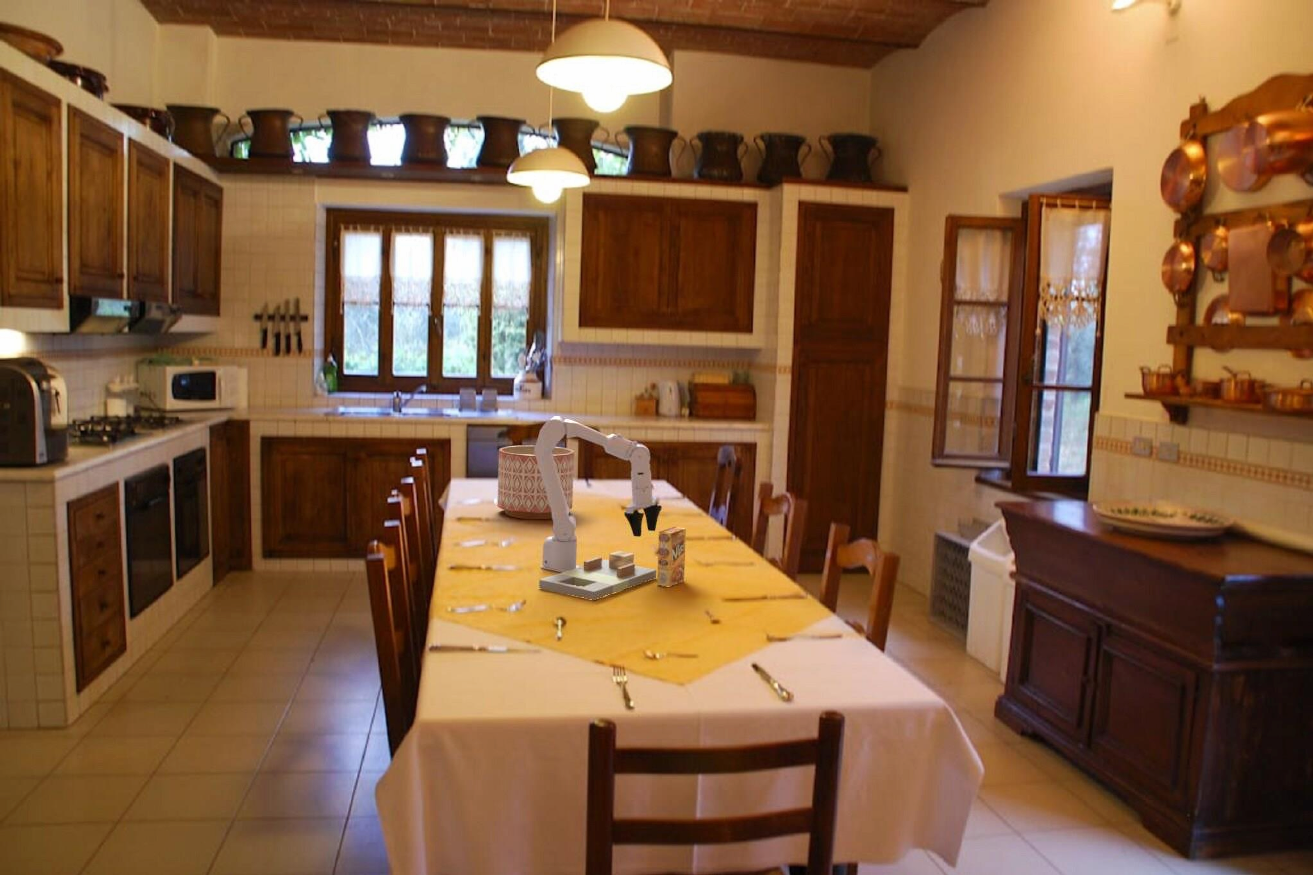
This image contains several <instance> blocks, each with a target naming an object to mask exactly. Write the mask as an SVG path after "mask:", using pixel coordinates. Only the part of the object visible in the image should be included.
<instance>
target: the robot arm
mask: <svg viewBox="0 0 1313 875" xmlns="http://www.w3.org/2000/svg"><path fill="white" fill-rule="evenodd" d="M565 435H566V439H570V438H577V437H578V438H580V439H583V440H586V441H589V442H592V443H594V444H597V445H600V446H601V447H603V448H604V451H605V453H607V454H609V455H612V456H614V457H616V458H618V459H621V460H624V461H630V463H631V464H630V465H631V466H630V467H631V471H630V478H631V494H632V496H631V498H632V502H631V503H629V505H626V506H625V512H624V517H625V518H626V520H627V521H628V523H629V525H630V528H631V532H632V535H633V537H639V538H640V537H642V525H643V524H642V523H643V520H644V519H643V518H644V516H645V519H646V527H647V531H648V532H649V531H650V532H655V531H656V529H657V524H658V518H659V515H660V513H661V510H662V505H660V498H659V497H658V496H657V497H655V496H654V497H653V487H652V485H653V484H652V472H651V464H650V461H651V454H650V450H649V448H648V447H647V446H646V445H644V444H643V443H638V441H637V440H633V441H632V440H630V439H627V438H625V437H623V435H622V434H621V433H617V434H616V433H612V434H609V435H606V434H604V433H601V432H600V431H598V430H595V429H593V428H591V427H589V426H586V425H584V424H582V423H580V422H577V421H574V420H572V419H569V418H564V417H562V416H559V415H555V416H552V417H550V418H549V419H548V420H547V421H546V422H545V423H544V424H543V425H542V427H541V429H540V430H539V434H538V437H537V440H536V443H535V445H534V446H535V449H534V452H535V456H536V459H537V462H538V466H539V469H540V473H541V476H542V480H543V483H544V486H545V490H546V493H547V497H548V500H549V503H550V507H551V511H552V519H551V520H552V522H553V526H552V534H553V535H552V536H548V537H547V538H546V539H545V540H544V542H543V544H542V565H540V569H544V570H549V571H552V572H558V573H563V572H566V571H569V570H572V569H576V568H579V567H582V566H580V565H577V550H578V548H577V546H578V536H576V535H575V532H576V531H575V530H576V529H577V528H578V527H577V526H578V522H577V521H578V520H577V519H576V517H575V516H574V515H573V514H572V511H571V509H569V507H568V505H567V502H566V499H565V495H564V492H563V488H562V485H561V482H560V478H559V475H558V471H557V468H556V464H555V461H554V458H553V454H552V450H553V449H554V447H556V446H557V444H558V443H559V442H560V441H561V440H562V439H563V438H564V436H565ZM640 510H641V511H642V510H643V512H640Z"/></svg>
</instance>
